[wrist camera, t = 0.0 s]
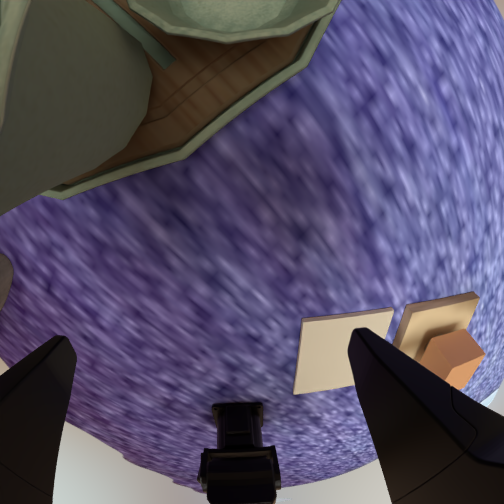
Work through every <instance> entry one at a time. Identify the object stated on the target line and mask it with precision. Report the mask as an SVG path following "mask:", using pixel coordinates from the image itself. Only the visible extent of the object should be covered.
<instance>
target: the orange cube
mask: <svg viewBox="0 0 504 504" xmlns="http://www.w3.org/2000/svg"><path fill="white" fill-rule="evenodd" d="M484 356H485V353H484V351H483V350H482V349H481V348H480V346H479V345H478V344H477V343H476V341H475V340H474V339H473V338H472V337H471V335H470V334H469V333H468V332H467V331H466V329H465V328H464V329H461V330H458V331H454V332H451V333H448V334H444V335H441V336H437V337H434V338H431V340H430V342H429V344H428V346H427V348H426V350H425V353H424V355H423V357H422V359H421V361H420V364H421V365H423V366H424V367H426V368H427V369H428V370H430V371H431V372H433V373H434V374H436V375H437V376H439V377H440V378H442V379H443V380H444V381H446V382H447V383H449V384H450V386H453V387H455V388H456V389H458V390H459V389H462V388H464V387H465V385H466V384H467V382H468V381H469V379H470V378H471V376H472V375H473V373H474V372H475V370H476V369H477V367H478V366H479V364H480V362H481V361H482V359H483V358H484Z"/></svg>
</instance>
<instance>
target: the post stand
mask: <svg viewBox="0 0 504 504" xmlns="http://www.w3.org/2000/svg"><path fill="white" fill-rule="evenodd" d="M479 299H480V297H479V296H478V295H476V294H475V293H474V292H469V293H465V294H460V295H456V296H451V297H446V298H441V299H436V300H431V301H425V302H420V303H414V304H408V305H406V307H405V310H404V313H403V316H402V319H401V322H400V325H399V328H398V331H397V333H396V336H395V339H394V341H393V344H392V345H393V346H395V347H396V348H398V349H399V350H401V351H402V352H404V353H405V354H407V355H408V356H409V357H411V358H412V359H414V360H415V361H417V362H418V363H420V361H421V359H422V357H423V355H424V353H425V350H426V348H427V346H428V344H429V342H430V340H431V338H434V337H437V336H441V335H444V334H448V333H451V332H454V331H458V330H461V329H464V328H465V329H466V328H467V326H468V324H469V322H470V320H471V317H472V315H473V313H474V311H475V308H476V306H477V304H478V301H479Z"/></svg>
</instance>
